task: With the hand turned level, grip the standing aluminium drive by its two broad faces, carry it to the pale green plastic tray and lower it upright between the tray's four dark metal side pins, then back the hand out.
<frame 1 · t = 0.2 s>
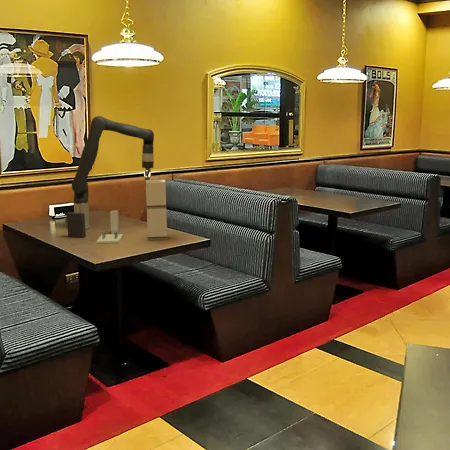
hand: (147, 185, 358), 28 cm above the table, tool pointing down, fingers open, 8 cm apart
beige rectangular tower: (157, 238, 335), on the table
dark brown upright block: (77, 236, 339), on the table
drive: (115, 232, 349), on the table
pin tray: (110, 239, 331), on the table
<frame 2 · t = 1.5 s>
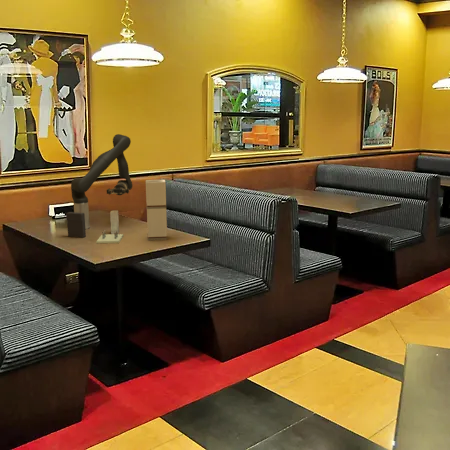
hand: (116, 192, 354), 24 cm above the table, tool horizontal, fingers open, 8 cm apart
nothing on the table moved.
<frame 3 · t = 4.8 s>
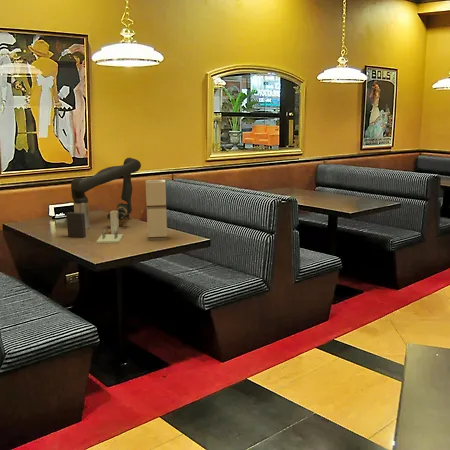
hand: (116, 217, 356), 8 cm above the table, tool horizontal, fingers open, 8 cm apart
nothing on the table moved.
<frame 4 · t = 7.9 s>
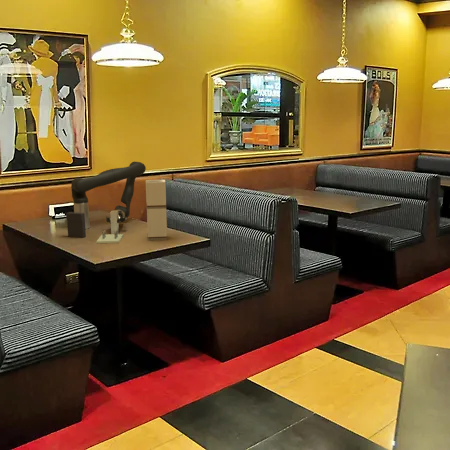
hand: (113, 221, 344), 8 cm above the table, tool horizontal, fingers closed on drive, 4 cm apart
drive: (115, 232, 349), on the table, touching gripper
everything else where it was.
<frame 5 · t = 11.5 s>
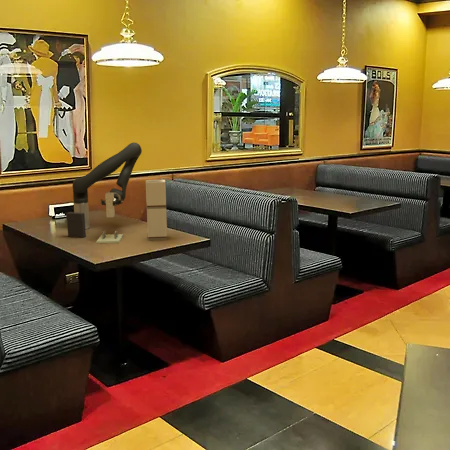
hand: (109, 204, 326), 22 cm above the table, tool horizontal, fingers closed on drive, 4 cm apart
drive: (110, 216, 330), point 14 cm above the table, touching gripper
everything else where it was.
when the fingers open (10 cm above the table, at t = 15.1 s): drive stays where it is, resting on pin tray.
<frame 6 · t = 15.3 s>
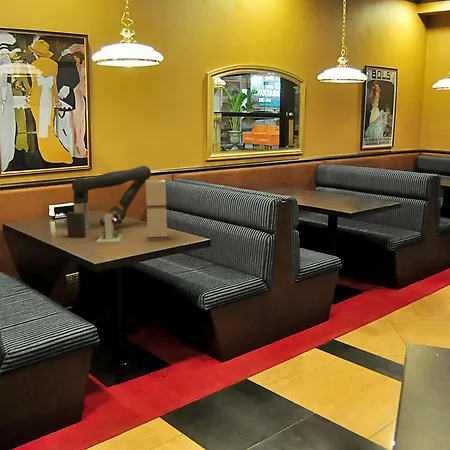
hand: (108, 224, 326), 10 cm above the table, tool horizontal, fingers open, 6 cm apart
drive: (110, 237, 331), point 1 cm above the table, touching pin tray
everything else where it was.
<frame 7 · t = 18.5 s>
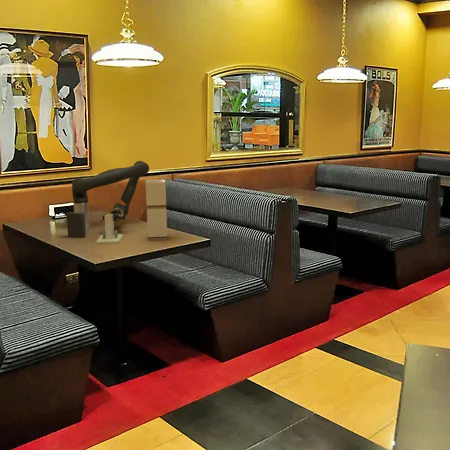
hand: (112, 219, 339), 10 cm above the table, tool horizontal, fingers open, 8 cm apart
nothing on the table moved.
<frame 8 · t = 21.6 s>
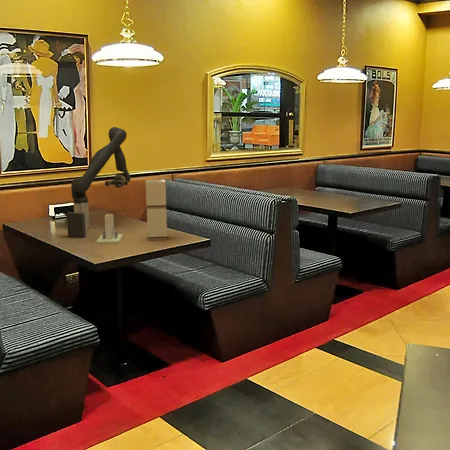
hand: (114, 184, 349), 30 cm above the table, tool horizontal, fingers open, 8 cm apart
nothing on the table moved.
at the end: drive 0.1 cm off-centre on the pin tray, point 1.2 cm above the pin tray's base; drive tilted 0°; the gripper is holding nothing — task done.
